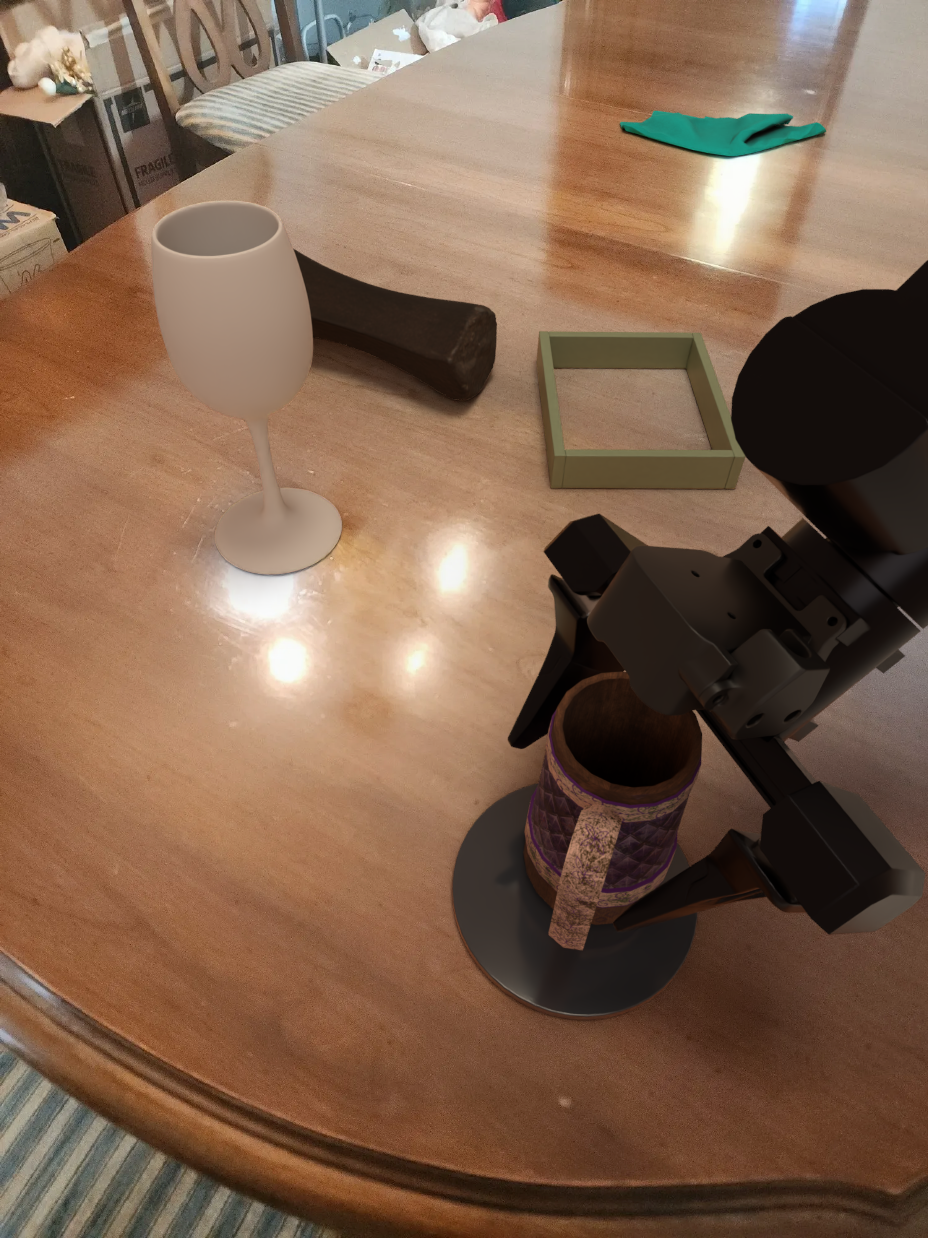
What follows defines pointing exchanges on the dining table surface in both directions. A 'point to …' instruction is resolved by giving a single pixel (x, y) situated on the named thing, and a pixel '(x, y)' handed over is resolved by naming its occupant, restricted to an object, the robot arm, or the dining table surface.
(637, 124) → the cloth
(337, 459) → the dining table surface
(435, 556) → the dining table surface
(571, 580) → the robot arm
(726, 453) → the frame
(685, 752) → the mug
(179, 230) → the wineglass
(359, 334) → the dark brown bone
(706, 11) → the dining table surface
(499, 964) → the coaster
